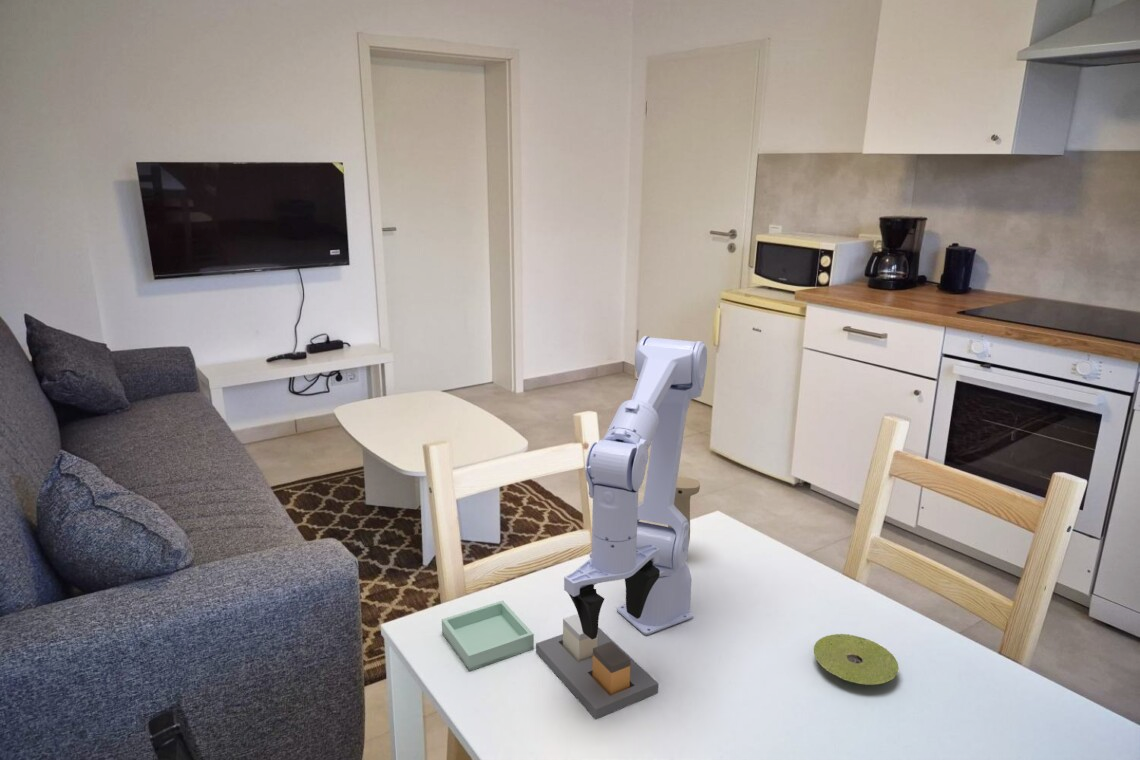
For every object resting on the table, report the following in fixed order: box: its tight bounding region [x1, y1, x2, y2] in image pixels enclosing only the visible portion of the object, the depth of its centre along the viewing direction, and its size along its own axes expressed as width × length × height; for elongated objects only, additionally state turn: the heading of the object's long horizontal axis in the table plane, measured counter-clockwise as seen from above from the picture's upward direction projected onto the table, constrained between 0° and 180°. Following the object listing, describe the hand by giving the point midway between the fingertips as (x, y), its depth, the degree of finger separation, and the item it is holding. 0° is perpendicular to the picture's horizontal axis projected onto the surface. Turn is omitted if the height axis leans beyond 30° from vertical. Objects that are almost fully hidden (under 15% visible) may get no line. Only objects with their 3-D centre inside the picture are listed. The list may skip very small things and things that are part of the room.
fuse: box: [562, 613, 597, 662], centre depth 107 cm, size 3×4×6 cm, turn 31°
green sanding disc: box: [813, 633, 900, 686], centre depth 106 cm, size 11×11×2 cm
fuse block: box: [535, 626, 659, 720], centre depth 105 cm, size 10×16×2 cm, turn 31°
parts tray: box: [441, 600, 535, 672], centre depth 111 cm, size 10×10×2 cm
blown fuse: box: [592, 642, 630, 696], centre depth 101 cm, size 3×4×6 cm, turn 31°
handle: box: [667, 476, 701, 541], centre depth 133 cm, size 5×6×15 cm
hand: (612, 624), depth 99 cm, fingers open, 7 cm apart
